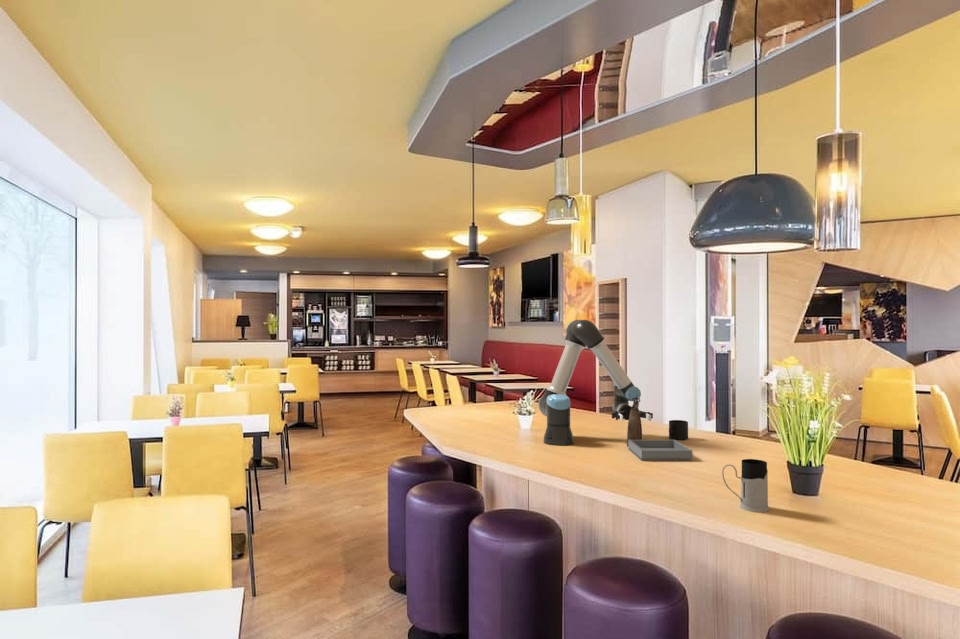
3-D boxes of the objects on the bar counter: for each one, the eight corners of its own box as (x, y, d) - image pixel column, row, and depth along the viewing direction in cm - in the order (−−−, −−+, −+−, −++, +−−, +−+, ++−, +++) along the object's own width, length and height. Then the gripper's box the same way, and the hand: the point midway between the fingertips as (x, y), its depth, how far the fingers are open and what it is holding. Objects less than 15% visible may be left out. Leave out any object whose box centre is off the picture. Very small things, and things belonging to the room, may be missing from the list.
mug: (661, 439, 312) (661, 421, 312) (677, 436, 319) (676, 419, 319) (676, 441, 304) (676, 424, 305) (692, 439, 311) (691, 421, 311)
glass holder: (773, 512, 190) (772, 465, 190) (725, 510, 193) (725, 463, 193) (764, 504, 199) (764, 459, 199) (719, 502, 201) (719, 457, 201)
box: (641, 460, 263) (641, 450, 263) (628, 449, 287) (628, 439, 287) (692, 460, 263) (692, 450, 263) (674, 449, 287) (674, 439, 287)
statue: (643, 447, 290) (640, 395, 290) (627, 447, 291) (624, 396, 292) (642, 444, 298) (639, 393, 299) (626, 444, 300) (624, 394, 301)
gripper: (649, 419, 313) (662, 425, 292) (601, 419, 313) (610, 426, 292) (649, 404, 313) (662, 410, 292) (601, 404, 313) (610, 410, 292)
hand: (636, 418), depth 292 cm, fingers open, 13 cm apart
